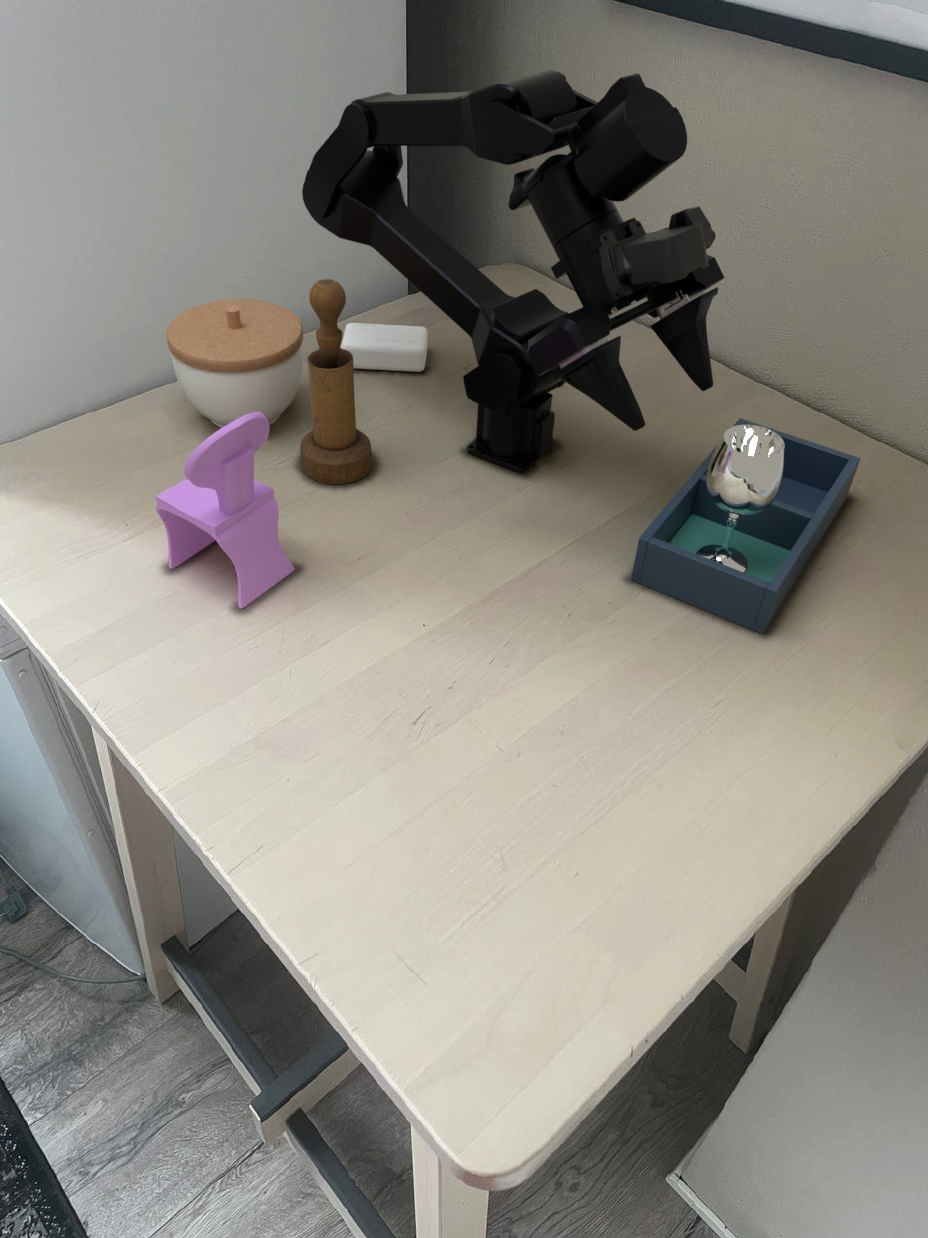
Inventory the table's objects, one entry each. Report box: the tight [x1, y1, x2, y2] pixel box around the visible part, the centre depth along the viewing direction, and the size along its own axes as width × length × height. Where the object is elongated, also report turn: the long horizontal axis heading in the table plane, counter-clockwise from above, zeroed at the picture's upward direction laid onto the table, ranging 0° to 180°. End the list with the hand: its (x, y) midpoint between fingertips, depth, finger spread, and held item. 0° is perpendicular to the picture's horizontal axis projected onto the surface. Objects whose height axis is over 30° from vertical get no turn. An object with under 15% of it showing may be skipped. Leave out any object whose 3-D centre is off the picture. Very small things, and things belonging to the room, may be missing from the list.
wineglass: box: [696, 425, 785, 573], centre depth 83 cm, size 6×6×12 cm
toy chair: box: [155, 412, 296, 610], centre depth 80 cm, size 8×9×15 cm
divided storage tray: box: [630, 417, 862, 635], centre depth 89 cm, size 12×22×4 cm, turn 148°
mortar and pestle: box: [299, 278, 373, 485], centre depth 91 cm, size 7×6×18 cm
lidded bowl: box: [166, 298, 304, 429], centre depth 99 cm, size 13×13×11 cm
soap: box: [340, 322, 429, 373], centre depth 111 cm, size 9×6×3 cm, turn 88°
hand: (675, 408), depth 83 cm, fingers open, 9 cm apart
